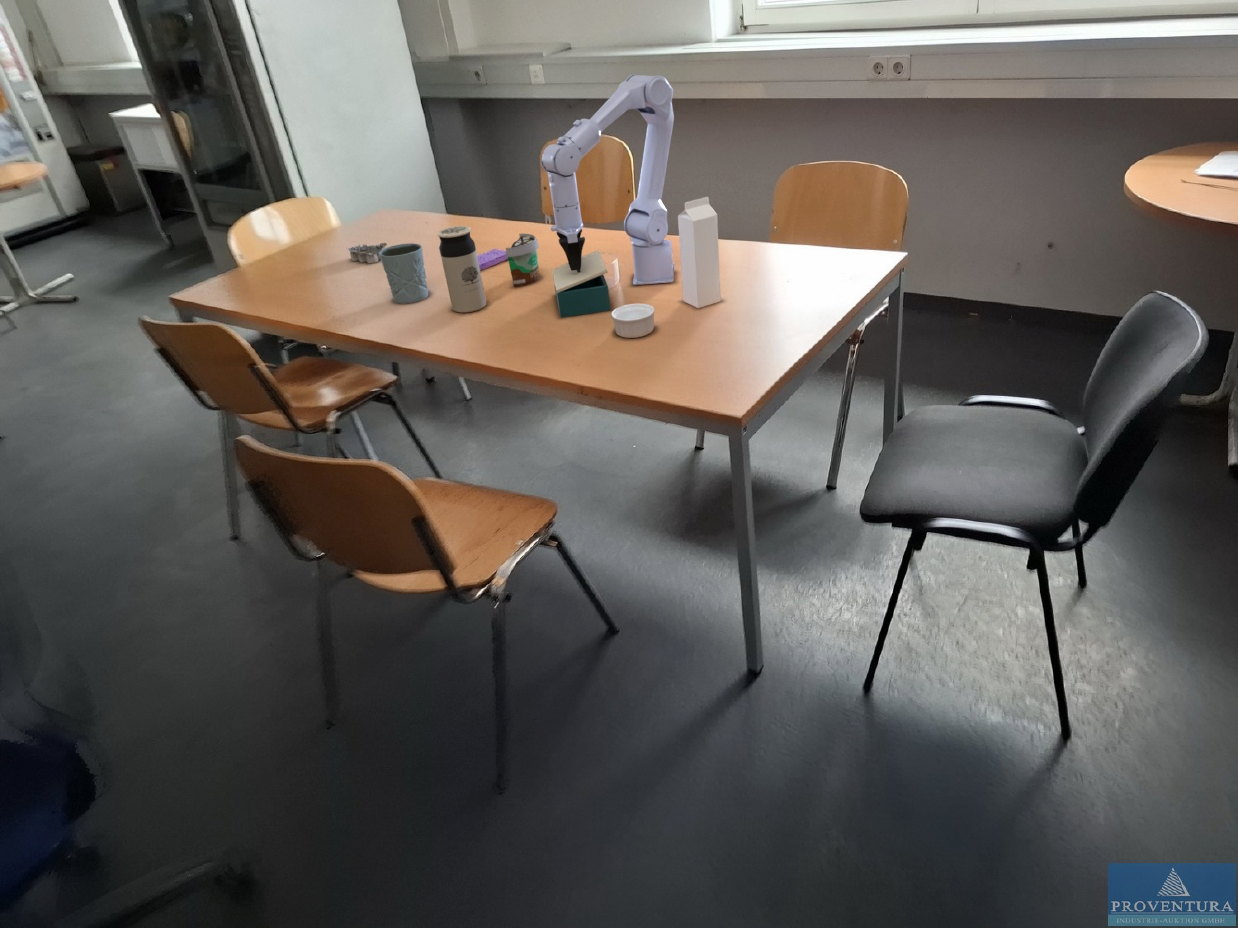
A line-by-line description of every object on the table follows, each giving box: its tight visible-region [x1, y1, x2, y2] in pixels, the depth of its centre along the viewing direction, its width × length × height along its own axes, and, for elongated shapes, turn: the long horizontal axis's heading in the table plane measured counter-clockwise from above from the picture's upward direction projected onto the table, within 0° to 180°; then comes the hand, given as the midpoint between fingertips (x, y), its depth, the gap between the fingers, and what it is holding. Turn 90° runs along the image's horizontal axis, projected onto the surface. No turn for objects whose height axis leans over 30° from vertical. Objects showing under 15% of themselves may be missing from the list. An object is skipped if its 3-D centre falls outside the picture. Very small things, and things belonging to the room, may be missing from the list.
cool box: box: [552, 274, 612, 319], centre depth 185 cm, size 11×15×6 cm
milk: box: [677, 196, 722, 309], centre depth 174 cm, size 6×6×22 cm
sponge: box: [477, 248, 508, 271], centre depth 219 cm, size 7×13×2 cm, turn 136°
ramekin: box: [610, 303, 655, 339], centre depth 168 cm, size 9×9×4 cm
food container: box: [505, 233, 540, 288], centre depth 201 cm, size 12×6×10 cm, turn 169°
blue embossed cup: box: [379, 242, 429, 305], centre depth 199 cm, size 10×10×12 cm
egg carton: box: [346, 242, 388, 264], centre depth 233 cm, size 11×8×4 cm
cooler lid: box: [551, 249, 608, 293], centre depth 182 cm, size 12×15×4 cm
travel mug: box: [436, 225, 487, 314], centre depth 187 cm, size 8×8×18 cm
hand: (574, 265), depth 182 cm, fingers closed on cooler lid, 4 cm apart
